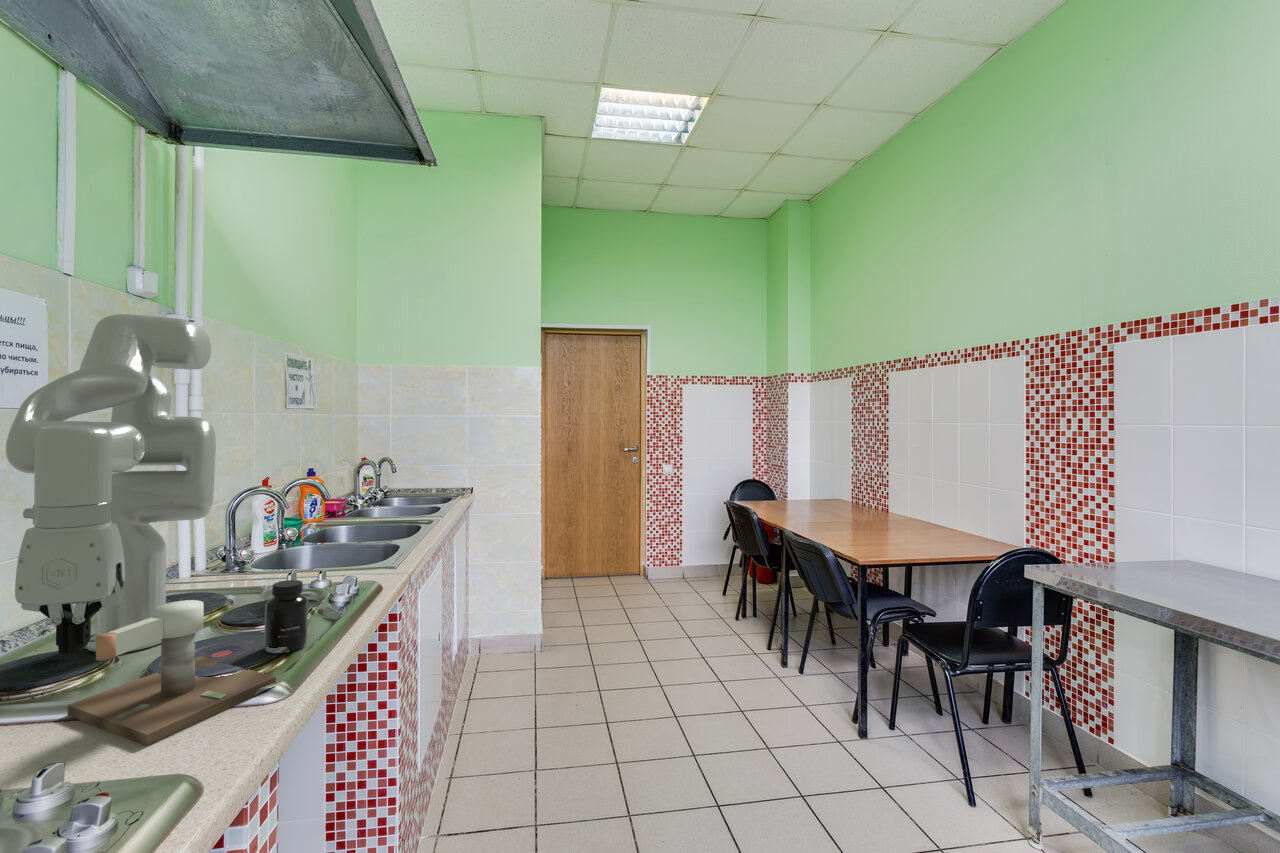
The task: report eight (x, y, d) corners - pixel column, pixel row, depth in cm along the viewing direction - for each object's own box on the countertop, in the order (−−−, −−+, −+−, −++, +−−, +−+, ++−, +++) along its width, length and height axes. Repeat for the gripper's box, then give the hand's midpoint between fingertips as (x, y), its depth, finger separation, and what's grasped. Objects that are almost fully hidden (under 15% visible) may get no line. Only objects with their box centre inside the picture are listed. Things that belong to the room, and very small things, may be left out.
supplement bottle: (287, 657, 104) (288, 590, 103) (254, 652, 105) (255, 587, 105) (315, 642, 110) (316, 579, 110) (285, 638, 112) (286, 576, 111)
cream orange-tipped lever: (181, 621, 91) (181, 598, 91) (213, 625, 90) (213, 602, 90) (79, 658, 77) (80, 631, 77) (116, 663, 76) (116, 636, 76)
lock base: (67, 715, 83) (67, 643, 82) (201, 664, 100) (202, 604, 99) (146, 745, 76) (147, 668, 76) (275, 686, 93) (276, 622, 93)
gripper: (-19, 522, 73) (-19, 666, 73) (124, 520, 77) (123, 656, 78) (25, 512, 80) (25, 643, 81) (154, 510, 84) (153, 635, 85)
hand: (73, 649), depth 79 cm, fingers closed
